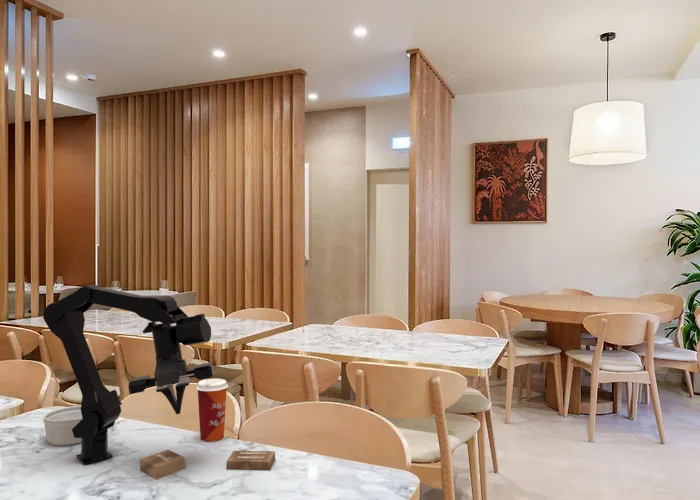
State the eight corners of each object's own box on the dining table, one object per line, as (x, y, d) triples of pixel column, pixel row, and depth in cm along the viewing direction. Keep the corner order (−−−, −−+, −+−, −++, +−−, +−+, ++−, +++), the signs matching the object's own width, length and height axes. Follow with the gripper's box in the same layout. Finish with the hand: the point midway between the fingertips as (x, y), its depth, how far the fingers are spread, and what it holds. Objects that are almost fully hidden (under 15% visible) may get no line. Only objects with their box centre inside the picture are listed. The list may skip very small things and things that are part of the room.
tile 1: (140, 472, 113) (140, 458, 113) (168, 462, 118) (168, 448, 118) (156, 481, 108) (156, 466, 108) (184, 470, 114) (184, 456, 114)
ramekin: (35, 439, 132) (36, 413, 132) (88, 426, 142) (88, 401, 142) (53, 452, 123) (53, 424, 123) (108, 437, 133) (108, 411, 133)
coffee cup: (219, 444, 128) (219, 386, 128) (190, 442, 130) (190, 384, 130) (233, 433, 136) (233, 378, 137) (205, 430, 138) (205, 377, 138)
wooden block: (226, 460, 113) (269, 460, 113) (233, 449, 119) (274, 450, 119) (226, 471, 113) (269, 472, 113) (233, 460, 119) (274, 461, 119)
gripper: (117, 362, 108) (128, 433, 108) (205, 344, 112) (216, 413, 112) (129, 354, 119) (139, 419, 119) (208, 339, 123) (219, 401, 123)
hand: (178, 413), depth 118 cm, fingers closed
